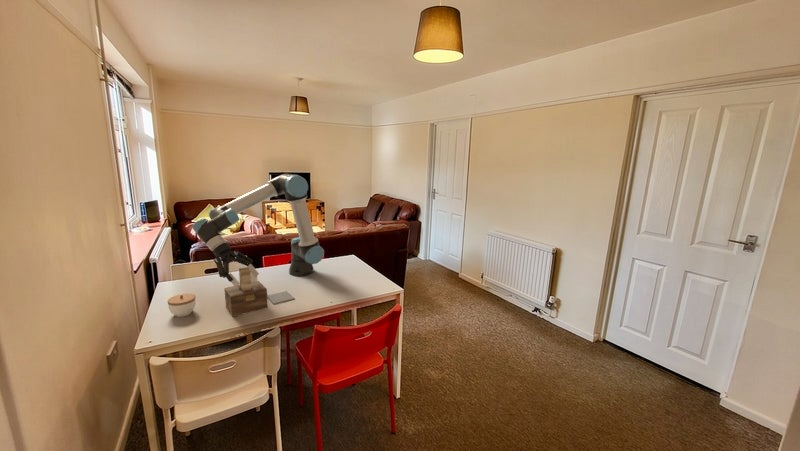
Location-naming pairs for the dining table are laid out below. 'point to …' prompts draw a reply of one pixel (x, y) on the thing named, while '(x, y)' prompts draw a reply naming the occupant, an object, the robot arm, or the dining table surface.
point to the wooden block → (245, 279)
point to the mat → (280, 297)
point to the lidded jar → (182, 304)
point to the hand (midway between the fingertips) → (247, 280)
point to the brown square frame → (245, 299)
